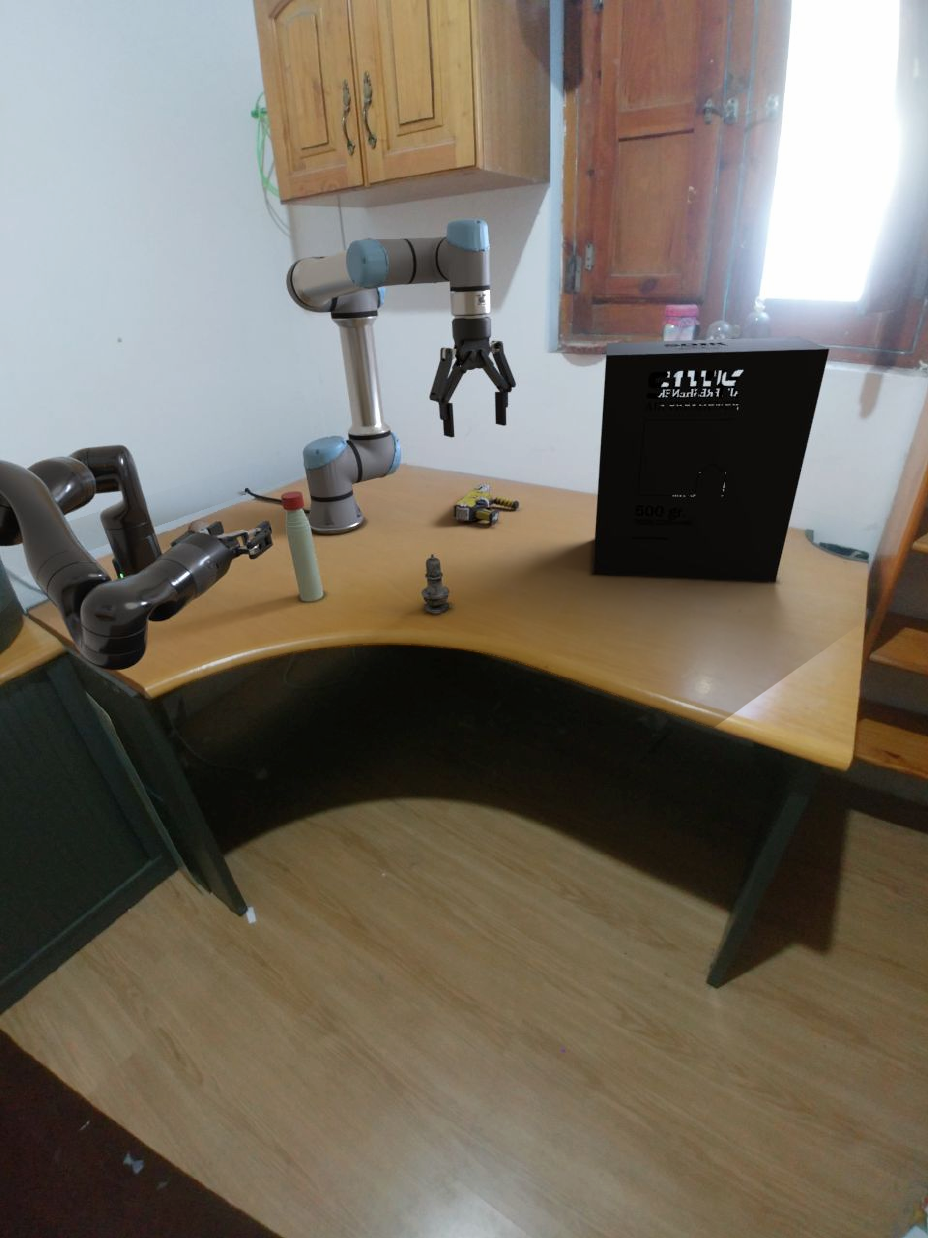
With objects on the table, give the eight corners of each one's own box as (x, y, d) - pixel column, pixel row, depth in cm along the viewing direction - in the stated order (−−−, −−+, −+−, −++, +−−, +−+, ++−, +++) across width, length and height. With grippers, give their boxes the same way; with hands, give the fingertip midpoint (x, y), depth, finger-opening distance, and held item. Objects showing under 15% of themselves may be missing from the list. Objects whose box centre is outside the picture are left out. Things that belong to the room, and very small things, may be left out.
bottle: (319, 601, 130) (299, 500, 119) (297, 601, 131) (275, 500, 119) (326, 591, 134) (307, 492, 123) (305, 590, 135) (284, 492, 123)
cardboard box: (755, 543, 144) (798, 336, 121) (775, 581, 127) (829, 348, 104) (594, 538, 151) (606, 342, 129) (592, 573, 134) (606, 355, 112)
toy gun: (527, 488, 179) (479, 481, 183) (505, 513, 159) (452, 504, 162) (525, 503, 181) (478, 496, 185) (503, 529, 161) (451, 520, 165)
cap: (300, 510, 120) (297, 497, 119) (280, 510, 121) (277, 498, 119) (307, 503, 124) (304, 491, 122) (287, 503, 124) (285, 491, 123)
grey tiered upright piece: (447, 614, 122) (443, 560, 116) (419, 613, 123) (413, 559, 117) (453, 601, 127) (450, 548, 121) (426, 599, 128) (421, 547, 122)
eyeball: (201, 547, 160) (195, 526, 157) (186, 543, 163) (180, 522, 160) (220, 539, 164) (214, 518, 161) (205, 536, 167) (199, 515, 164)
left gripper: (154, 590, 89) (211, 546, 103) (243, 592, 87) (289, 547, 101) (137, 543, 86) (199, 504, 99) (229, 544, 83) (279, 504, 97)
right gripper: (427, 323, 106) (436, 444, 117) (533, 311, 118) (532, 422, 129) (405, 321, 112) (415, 438, 122) (508, 311, 124) (509, 417, 134)
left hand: (244, 526), depth 100 cm, fingers open, 8 cm apart
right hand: (475, 430), depth 126 cm, fingers open, 13 cm apart
